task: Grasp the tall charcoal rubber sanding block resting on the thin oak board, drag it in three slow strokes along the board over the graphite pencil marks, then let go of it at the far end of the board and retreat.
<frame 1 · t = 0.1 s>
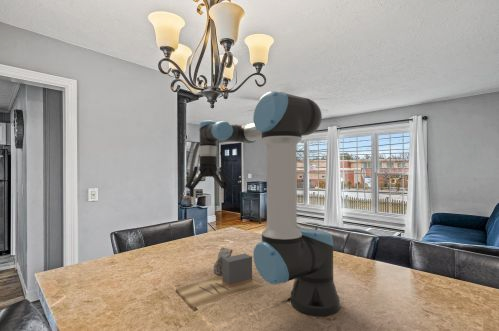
hand: (207, 203, 116), 28 cm above the table, fingers open, 13 cm apart
sanding block: (237, 281, 97), point 1 cm above the table, touching board
rock: (222, 270, 111), on the table
board: (219, 289, 92), on the table
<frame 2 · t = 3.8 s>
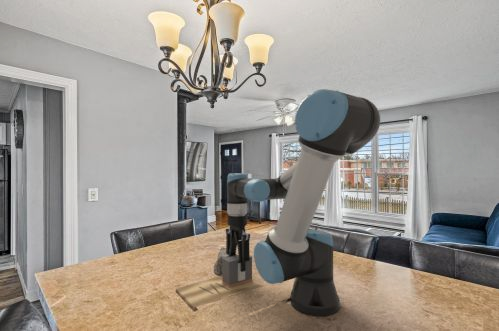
hand: (237, 277, 97), 3 cm above the table, fingers closed on sanding block, 5 cm apart
sanding block: (237, 281, 97), point 1 cm above the table, touching board, gripper
everything else where it was.
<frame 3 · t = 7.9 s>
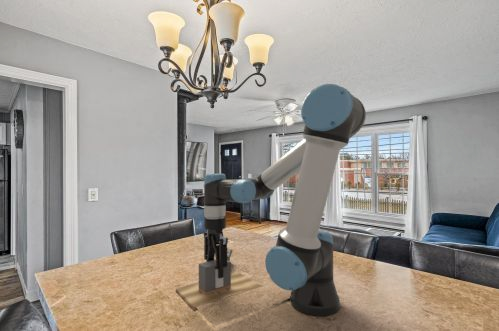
hand: (215, 283, 91), 3 cm above the table, fingers closed on sanding block, 5 cm apart
sanding block: (214, 288, 91), point 1 cm above the table, touching gripper
everything else where it was.
when the fingers open (3 cm above the table, at t = 12.4 s): sanding block stays where it is, resting on board.
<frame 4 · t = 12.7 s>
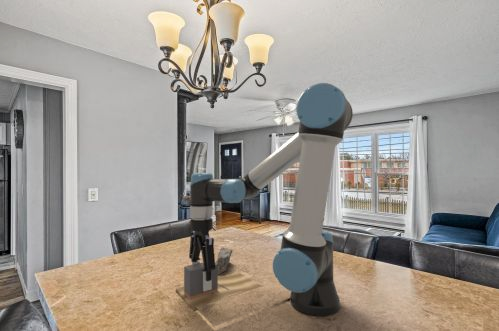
hand: (201, 284, 89), 3 cm above the table, fingers open, 8 cm apart
sanding block: (201, 292, 88), point 1 cm above the table, touching board
everything else where it was.
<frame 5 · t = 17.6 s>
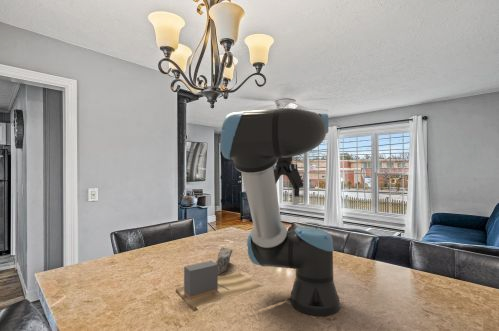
hand: (283, 203, 110), 29 cm above the table, fingers open, 13 cm apart
nothing on the table moved.
at the end: sanding block inside the target area (0.4 cm from its centre), point 1.0 cm above the table; sanding block moved 14.6 cm from its start; the gripper is holding nothing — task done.
